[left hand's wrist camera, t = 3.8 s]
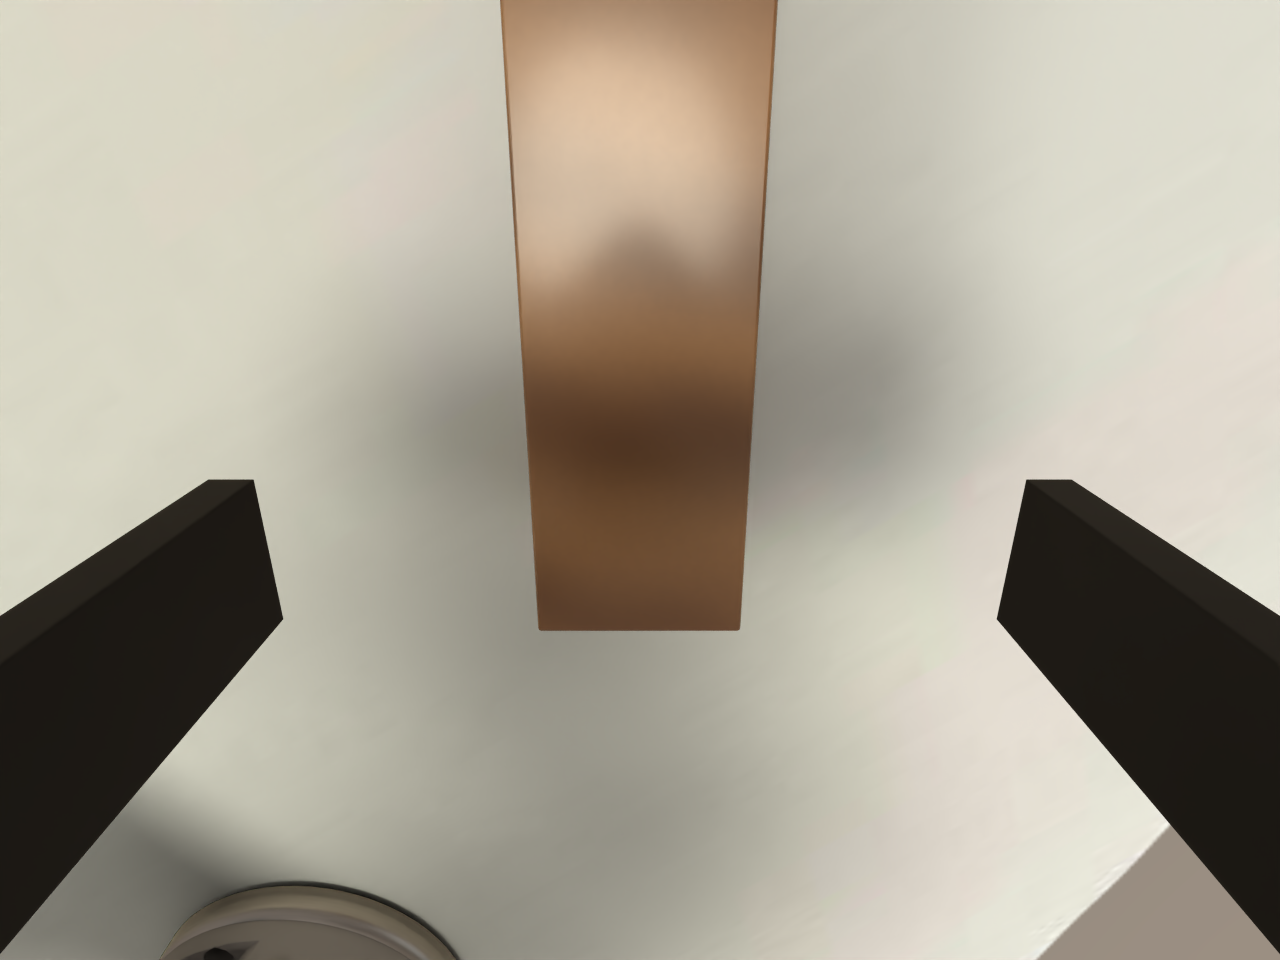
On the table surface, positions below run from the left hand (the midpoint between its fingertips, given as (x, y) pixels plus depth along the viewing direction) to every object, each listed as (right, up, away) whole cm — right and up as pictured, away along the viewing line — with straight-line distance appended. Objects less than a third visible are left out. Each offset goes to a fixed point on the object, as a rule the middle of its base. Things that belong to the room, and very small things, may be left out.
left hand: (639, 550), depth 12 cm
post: (0, +26, +4) cm, 26 cm away
